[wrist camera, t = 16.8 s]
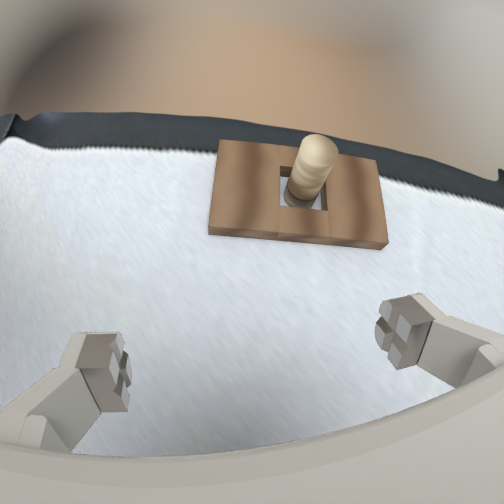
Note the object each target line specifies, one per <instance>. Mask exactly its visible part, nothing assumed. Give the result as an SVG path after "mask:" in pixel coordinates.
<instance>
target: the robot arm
mask: <svg viewBox="0 0 504 504" xmlns="http://www.w3.org/2000/svg"><path fill="white" fill-rule="evenodd" d="M379 313H380V315H381V317H380V318H379V320H378V321H377V322H376V326H375V339H376V341H377V344H378V345H379V347H380V348H381V349H382V350H384V351H386V352H388V356H387V358H388V359H389V360H390V362H391V363H392V365H393V366H394V367H395V369H396V370H399V369H403V368H407V367H410V366H414V365H417V366H419V367H420V368H422V369H424V370H425V371H427V372H429V373H430V374H432V375H434V376H435V377H437V378H439V379H441V380H442V381H444V382H446V383H447V384H449V385H451V386H452V387H454V388H456V389H454V390H452V391H449V392H447V393H445V394H442V395H440V396H438V397H435V398H433V399H431V400H428V401H426V402H423V403H421V404H418V405H416V406H413V407H410V408H408V409H405V410H402V411H399V412H397V413H394V414H391V415H388V416H385V417H382V418H379V419H376V420H373V421H370V422H366V423H363V424H360V425H357V426H353V427H350V428H346V429H342V430H339V431H335V432H331V433H327V434H323V435H319V436H315V437H310V438H306V439H301V440H297V441H292V442H287V443H281V444H276V445H270V446H264V447H258V448H252V449H245V450H237V451H229V452H220V453H210V454H199V455H184V456H161V457H121V456H98V455H84V454H73V453H71V451H72V450H73V449H74V447H75V446H76V445H77V444H78V442H79V441H80V440H81V439H82V437H83V436H84V435H85V433H86V432H87V431H88V430H89V428H90V427H91V426H92V425H93V423H94V422H95V421H96V420H97V418H98V417H99V416H100V415H101V412H128V404H129V396H130V394H129V392H128V389H127V387H128V386H129V385H130V384H131V380H132V369H131V363H130V359H129V355H128V354H127V353H126V352H125V351H124V350H123V348H124V340H123V337H122V334H121V333H120V332H89V333H87V332H84V333H74V334H72V335H71V337H70V340H69V342H68V345H67V347H66V350H65V352H64V355H63V357H62V360H61V362H60V365H59V367H58V368H54V369H52V370H51V371H50V372H48V373H47V374H46V375H45V376H43V377H42V378H41V379H40V380H38V381H37V382H36V383H34V384H33V385H32V386H31V387H29V388H28V389H27V390H26V391H24V392H23V393H22V394H21V395H19V396H18V397H17V398H16V399H14V400H13V401H12V402H11V403H9V404H8V405H7V406H6V407H4V408H3V409H2V411H1V414H0V504H504V335H502V334H499V333H496V332H494V331H491V330H488V329H485V328H483V327H480V326H477V325H474V324H472V323H469V322H466V321H463V320H461V319H458V318H455V317H452V316H448V317H447V316H446V315H445V314H444V313H443V312H442V311H441V310H440V309H439V308H437V307H436V306H435V305H434V304H433V303H432V302H431V301H430V300H429V299H428V298H426V297H425V296H424V295H423V294H421V293H416V294H412V295H407V296H405V297H400V298H395V299H390V300H385V301H382V303H381V305H380V308H379Z"/></svg>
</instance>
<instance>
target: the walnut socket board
mask: <svg viewBox="0 0 504 504" xmlns="http://www.w3.org/2000/svg"><path fill="white" fill-rule="evenodd" d="M299 149H300V148H296V147H289V146H281V145H272V144H263V143H253V142H243V141H232V140H220V141H219V148H218V155H217V162H216V169H215V177H214V184H213V192H212V200H211V208H210V216H209V225H208V229H209V234H210V235H222V236H234V237H246V238H258V239H269V240H281V241H292V242H303V243H314V244H325V245H336V246H346V247H357V248H367V249H377V250H381V249H382V248H384V247H385V246H386V245H387V244H388V243H389V240H388V233H387V225H386V218H385V211H384V205H383V198H382V192H381V186H380V181H379V175H378V170H377V165H376V161H375V160H370V159H365V158H360V157H354V156H348V155H343V154H338V157H337V159H336V161H335V163H334V165H333V167H332V169H331V170H330V172H329V174H328V176H327V178H326V180H325V182H324V184H323V186H322V188H321V202H322V210H315V209H306V208H296V207H287V206H280V176H285V177H290V175H291V172H292V169H293V166H294V163H295V160H296V157H297V155H298V152H299Z"/></svg>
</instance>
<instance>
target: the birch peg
mask: <svg viewBox="0 0 504 504" xmlns="http://www.w3.org/2000/svg"><path fill="white" fill-rule="evenodd" d="M337 157H338V149H337V147H336V145H335V144H334V142H332V141H331V140H330V139H329V138H327V137H325V136H322V135H317V134H313V135H309V136H307V137H305V138H304V139H303V141H302V143H301V146H300V149H299V152H298V155H297V157H296V160H295V163H294V166H293V169H292V172H291V175H290V177H289V179H288V182H287V186H286V189H285V192H284V199H285V202H286V203H287V204H288V205H289V206H290V207H296V208H306V209H309V208H310V207H311V206H312V205H313V203H314V201H315V199H316V198H317V196H318V194H319V192H320V190H321V188H322V186H323V184H324V182H325V180H326V178H327V176H328V174H329V172H330V170H331V169H332V167H333V165H334V163H335V161H336V159H337Z"/></svg>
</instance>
